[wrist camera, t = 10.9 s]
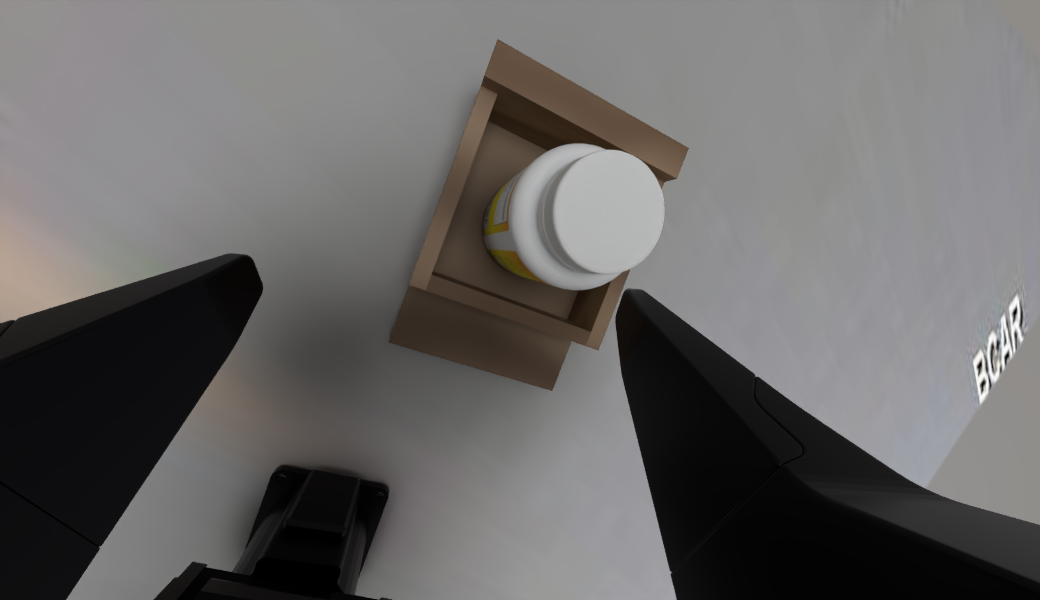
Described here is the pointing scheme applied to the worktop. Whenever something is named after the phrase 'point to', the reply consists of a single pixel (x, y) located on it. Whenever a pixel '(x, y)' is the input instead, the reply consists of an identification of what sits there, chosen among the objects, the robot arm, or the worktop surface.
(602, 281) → the supplement bottle
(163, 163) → the worktop surface
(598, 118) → the open wooden box
